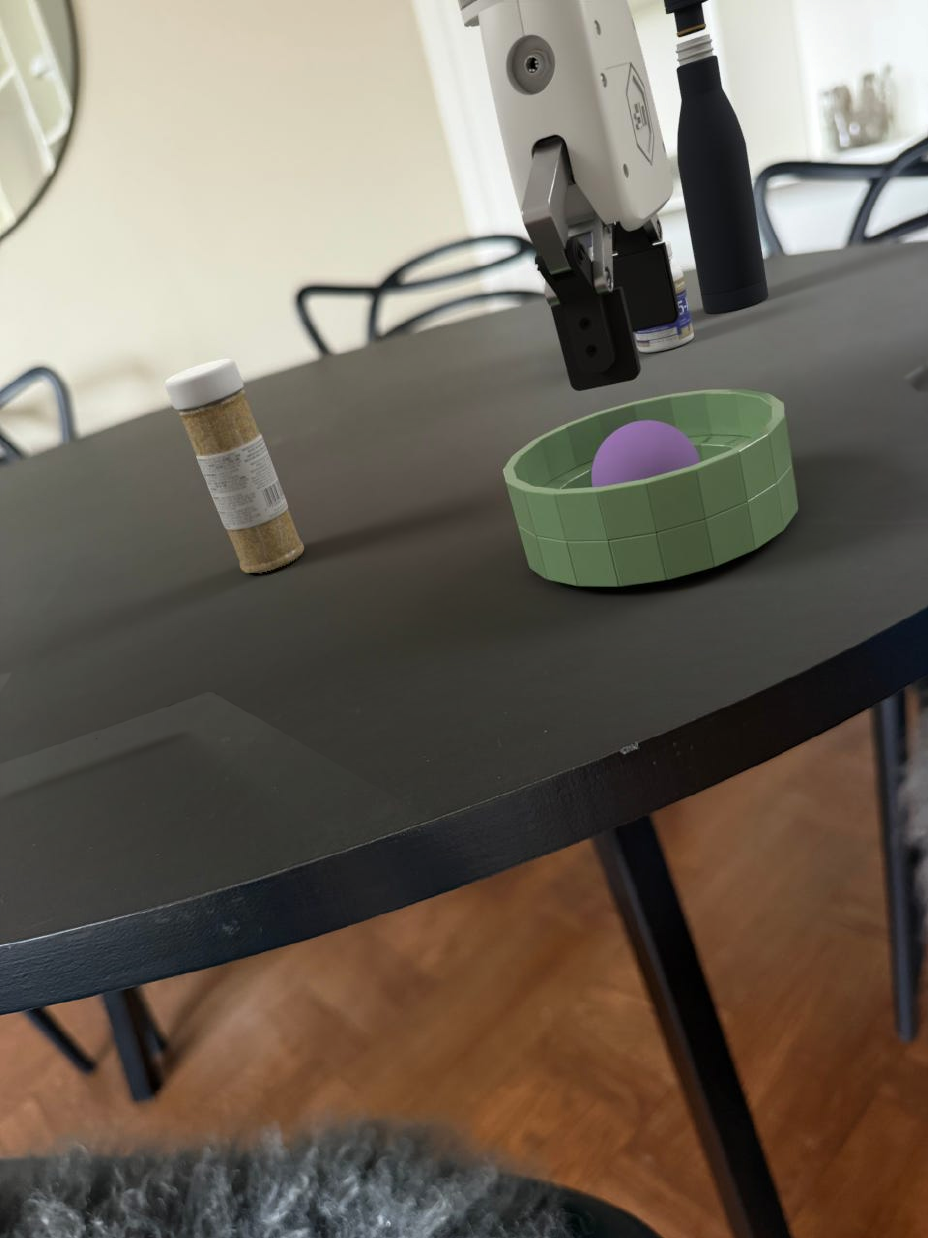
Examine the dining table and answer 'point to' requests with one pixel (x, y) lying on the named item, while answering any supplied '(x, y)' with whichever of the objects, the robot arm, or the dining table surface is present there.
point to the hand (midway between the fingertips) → (630, 352)
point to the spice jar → (235, 464)
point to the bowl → (656, 492)
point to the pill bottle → (676, 331)
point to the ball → (642, 453)
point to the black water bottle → (715, 175)
